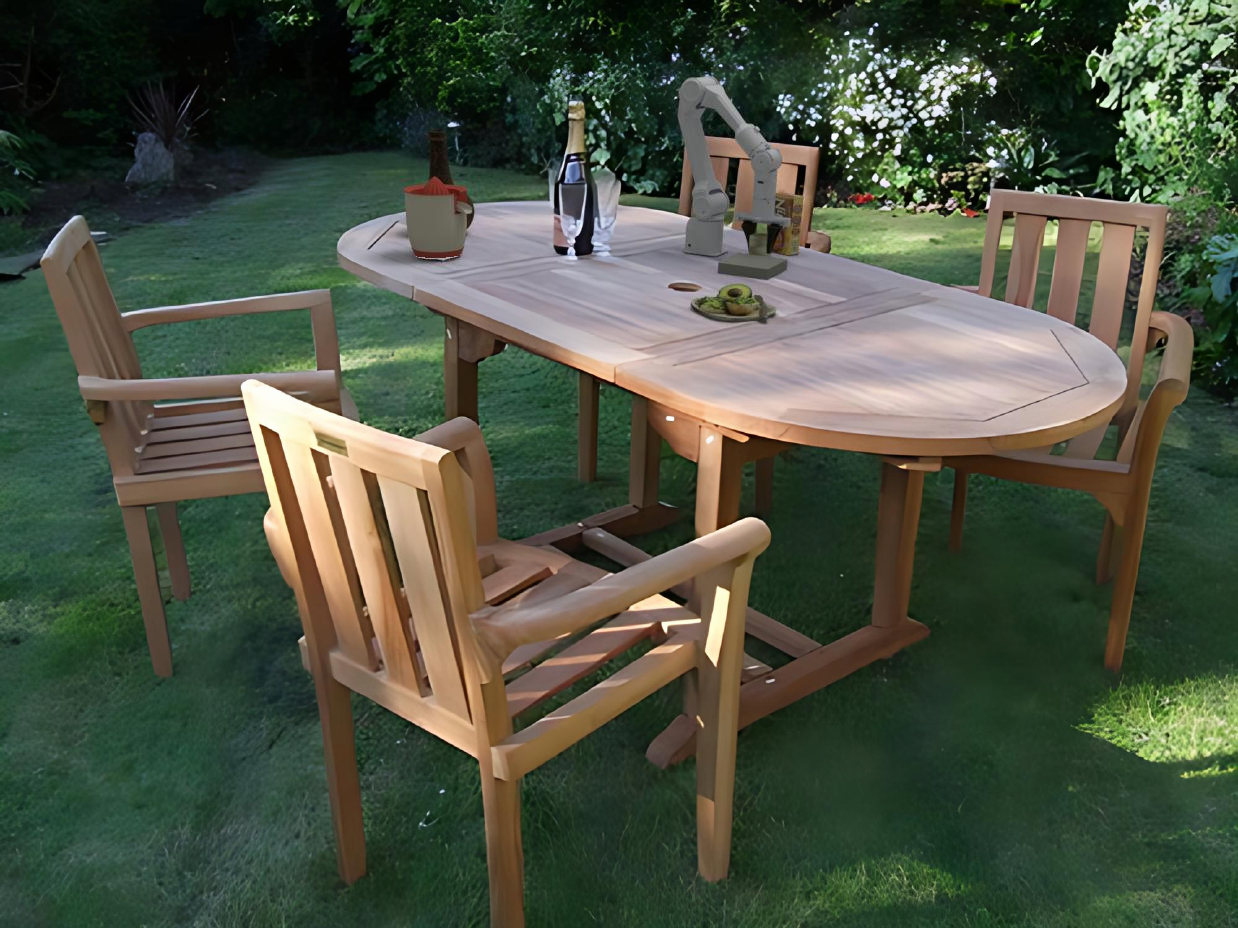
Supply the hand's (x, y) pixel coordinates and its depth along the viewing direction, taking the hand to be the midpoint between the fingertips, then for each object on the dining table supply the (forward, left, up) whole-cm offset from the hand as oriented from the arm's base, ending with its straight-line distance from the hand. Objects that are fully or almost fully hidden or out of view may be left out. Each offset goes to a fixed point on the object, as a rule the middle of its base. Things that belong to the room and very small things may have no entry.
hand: (760, 251), depth 285 cm
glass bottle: (-87, -19, -3) cm, 89 cm away
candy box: (+1, +13, -3) cm, 13 cm away
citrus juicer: (-70, -42, -3) cm, 82 cm away
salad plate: (+14, -49, -3) cm, 51 cm away
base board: (+3, -12, -2) cm, 13 cm away
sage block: (0, 0, -2) cm, 2 cm away
